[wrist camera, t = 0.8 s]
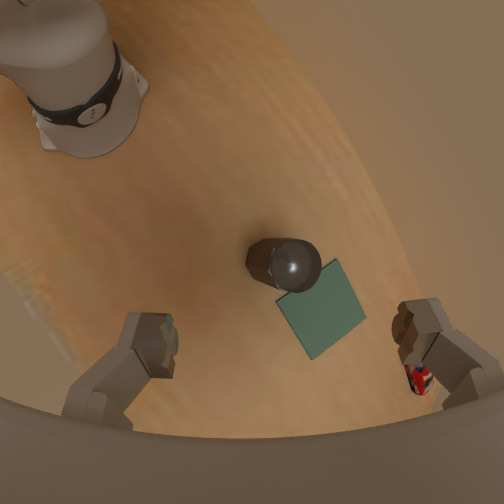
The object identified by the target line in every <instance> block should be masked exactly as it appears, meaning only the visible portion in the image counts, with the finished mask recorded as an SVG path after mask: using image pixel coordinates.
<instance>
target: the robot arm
mask: <svg viewBox="0 0 504 504" xmlns="http://www.w3.org/2000/svg"><path fill="white" fill-rule="evenodd" d="M0 74H1V75H3V76H5V77H7V78H9V79H10V80H11V81H13V82H14V83H15V84H16V85H17V86H18V87H19V88H20V89H21V90H22V91H23V92H24V93H25V94H26V95H27V98H28V100H29V102H30V104H31V105H32V108H33V109H32V115H33V117H34V118H36V119H37V122H36V126H37V128H38V129H39V132H40V138H41V144H42V147H43V148H44V149H45V150H46V151H52V152H53V151H62V152H65V153H67V154H69V155H72V156H75V157H79V158H92V157H97V156H100V155H103V154H106V153H108V152H110V151H111V150H113V149H115V148H116V147H117V146H119V145H120V144H121V143H122V142H123V141H124V140H125V139H126V138H127V137H128V136H129V134H130V133H131V131H132V130H133V128H134V126H135V124H136V122H137V119H138V115H139V109H140V104H141V101H142V100H143V98H144V97H145V95H146V94H147V92H148V90H149V84H148V82H147V80H146V79H145V78H144V77H143V76H142V75H141V74H140V73H139V72H138V71H137V70H136V69H135V68H134V67H133V66H132V65H131V64H130V63H129V62H128V61H127V60H126V59H125V58H124V57H123V56H122V55H121V54H120V52H119V51H118V48H117V46H116V44H115V43H114V42H113V40H112V37H111V33H110V28H109V23H108V19H107V15H106V12H105V10H104V8H103V7H102V6H101V5H100V4H99V3H98V2H97V1H96V0H0ZM138 81H139V83H138ZM397 309H398V312H399V313H398V314H397V315H396V316H395V317H394V319H393V322H392V336H393V339H394V341H395V342H396V343H397V344H398V345H400V346H399V348H398V354H399V356H400V359H401V362H402V365H407V364H413V363H419V362H422V364H423V365H424V366H425V367H426V368H427V369H428V370H429V372H430V373H431V374H432V375H433V376H434V377H435V378H436V379H437V380H438V381H439V382H440V383H441V384H442V385H443V386H444V387H445V388H446V389H447V390H448V391H449V392H450V393H451V394H450V395H449V396H448V397H447V398H446V399H445V401H444V402H443V404H442V406H443V411H439V412H435V413H432V414H428V415H424V416H420V417H416V418H412V419H408V420H404V421H399V422H395V423H390V424H385V425H380V426H375V427H369V428H363V429H357V430H351V431H344V432H336V433H328V434H319V435H309V436H297V437H281V438H253V439H228V438H200V437H184V436H173V435H162V434H154V433H145V432H138V431H132V430H133V423H132V422H131V421H130V420H129V419H128V418H127V417H126V416H125V415H124V413H123V412H124V411H125V410H126V409H127V408H128V406H129V405H130V404H131V403H132V401H133V400H134V399H135V398H136V397H137V395H138V394H139V393H140V392H141V391H142V389H143V388H144V387H145V386H146V384H147V383H148V382H149V381H150V380H151V378H168V379H173V374H174V368H175V361H174V359H173V357H174V356H175V355H176V354H177V351H178V334H177V330H176V328H175V327H174V326H172V322H173V319H172V316H171V314H169V313H140V312H130V313H129V314H128V315H127V318H126V320H125V323H124V326H123V329H122V332H121V335H120V338H119V341H118V344H117V347H116V348H112V349H111V350H110V351H109V352H108V353H106V354H105V355H104V356H103V357H102V358H101V359H100V360H99V361H98V362H96V363H95V364H94V365H93V366H92V367H91V368H90V369H89V370H88V371H86V372H85V373H84V374H83V375H82V376H81V377H80V378H79V379H78V380H77V381H75V382H74V383H73V384H72V385H71V386H70V389H69V392H68V395H67V398H66V401H65V404H64V407H63V411H62V414H61V416H58V415H55V414H51V413H48V412H44V411H40V410H37V409H34V408H31V407H27V406H24V405H21V404H19V403H16V402H13V401H10V400H7V399H5V398H2V397H0V504H504V372H503V370H502V368H501V366H500V364H499V361H498V360H497V359H496V358H494V357H493V356H491V354H489V353H488V352H487V351H485V350H484V349H483V348H481V347H480V346H479V345H478V344H476V343H475V342H474V341H472V340H471V339H470V338H468V337H467V336H466V335H464V334H463V333H462V332H460V331H459V330H458V329H453V326H452V324H451V322H450V320H449V318H448V316H447V314H446V313H445V311H444V309H443V307H442V305H441V303H440V301H439V299H437V298H428V299H418V300H411V301H402V302H401V303H400V304H399V306H398V308H397Z"/></svg>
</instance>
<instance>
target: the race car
mask: <svg viewBox="0 0 504 504" xmlns="http://www.w3.org/2000/svg"><path fill="white" fill-rule="evenodd" d="M405 369H406V372H407V376H408V379H409V383H410V387H411V389H412V391H413V392H414V393H415V394H417V395H424V394H425V393H427V392H428V391H429V390H430V389H431V388H432V386H433V375H432V374H431V373H430V372H429V370H428V369H427V368H426V367H425V366H424V365H423V364H422V362H419V363H413V364H407V365H405Z"/></svg>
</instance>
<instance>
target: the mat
mask: <svg viewBox="0 0 504 504" xmlns="http://www.w3.org/2000/svg"><path fill="white" fill-rule="evenodd" d="M276 303H277V305H278V306H279V308H280V310H281V311H282V313H283V314H284V316H285V318H286V319H287V321H288V323H289V324H290V326H291V328H292V329H293V331H294V332H295V334H296V336H297V337H298V339H299V341H300V342H301V344H302V345H303V347H304V349H305V350H306V352H307V354H308V355H309V357H310V359H311V360H313V359H315V358H316V357H317V356H319V355H320V354H321V353H323V352H324V351H325V350H327V349H328V348H329V347H330V346H332V345H333V344H334V343H336V342H337V341H338V340H339V339H341V338H342V337H343V336H344V335H346V334H347V333H348V332H349V331H351V330H352V329H353V328H354V327H356V326H357V325H358V324H359V323H360V322H362V321H363V320H364V319H365V318H366V315H365V313H364V311H363V309H362V307H361V305H360V303H359V301H358V299H357V297H356V295H355V293H354V291H353V289H352V287H351V285H350V283H349V281H348V279H347V277H346V275H345V273H344V271H343V269H342V267H341V265H340V263H339V261H338V259H335V260H333V261H332V262H331V263H329V264H328V265H326V266H325V267H324V268H322V269H321V273H320V276H319V279H318V280H317V282H316V283H315V284H314V286H313V287H311V288H310V289H309V290H307V291H305V292H301V293H299V294H298V293H291V292H289V293H287V294H286V295H284V296H283V297H281V298H280V299H279V300H277V301H276Z"/></svg>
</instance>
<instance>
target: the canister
mask: <svg viewBox="0 0 504 504" xmlns="http://www.w3.org/2000/svg"><path fill="white" fill-rule="evenodd" d="M245 265H246V267H247V268H248V270H249V272H250V273H251V275H252V276H253V278H254V279H255V280H257V281H260V282H262V283H264V284H267V285H269V286H272V287H274V288H276V289H279V290H283V291H288V292H291V293H298V294H299V293H301V292H305V291H307V290H309V289H310V288H311V287H313V286H314V284H315V283H316V282H317V280H318V279H319V276H320V273H321V268H322V263H321V258H320V255H319V253H318V251H317V249H316V248H315V247H314V246H313V245H312V244H311V243H309V242H307V241H304V240H298V239H294V238H275V239H263V240H261V241H259V242H258V243H256V244H255V245H253V246H252V247H250V248H249V251H248V255H247V260H246V264H245Z"/></svg>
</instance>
